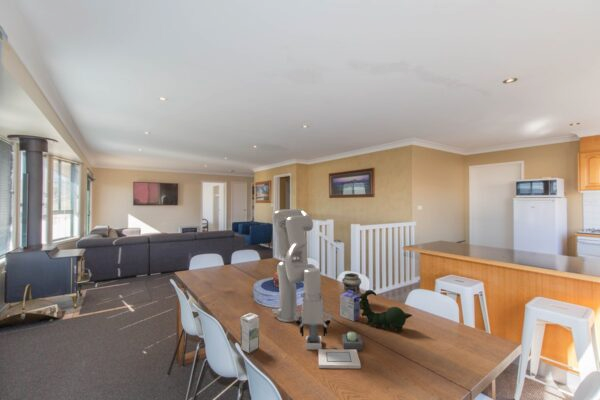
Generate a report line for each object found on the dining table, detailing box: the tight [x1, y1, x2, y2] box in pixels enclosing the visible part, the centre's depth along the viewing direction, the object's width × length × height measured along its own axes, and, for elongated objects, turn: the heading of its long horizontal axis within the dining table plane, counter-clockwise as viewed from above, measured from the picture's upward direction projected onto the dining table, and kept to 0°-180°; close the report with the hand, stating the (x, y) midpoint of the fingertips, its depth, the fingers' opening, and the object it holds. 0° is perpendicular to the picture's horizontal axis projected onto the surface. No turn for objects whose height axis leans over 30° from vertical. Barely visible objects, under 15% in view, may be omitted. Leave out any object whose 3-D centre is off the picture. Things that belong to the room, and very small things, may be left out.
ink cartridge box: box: [339, 290, 361, 322], centre depth 149 cm, size 10×6×14 cm, turn 41°
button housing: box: [341, 333, 364, 351], centre depth 120 cm, size 8×8×3 cm
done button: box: [346, 331, 357, 341], centre depth 120 cm, size 4×4×4 cm
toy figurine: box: [359, 289, 413, 333], centre depth 136 cm, size 9×19×25 cm
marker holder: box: [305, 335, 323, 350], centre depth 121 cm, size 7×7×2 cm
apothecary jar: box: [341, 272, 363, 304], centre depth 169 cm, size 12×12×18 cm
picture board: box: [317, 348, 362, 369], centre depth 109 cm, size 16×11×1 cm
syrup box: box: [240, 312, 260, 354], centre depth 119 cm, size 6×6×14 cm
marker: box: [308, 324, 319, 343], centre depth 121 cm, size 4×4×10 cm
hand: (313, 334), depth 121 cm, fingers open, 9 cm apart
